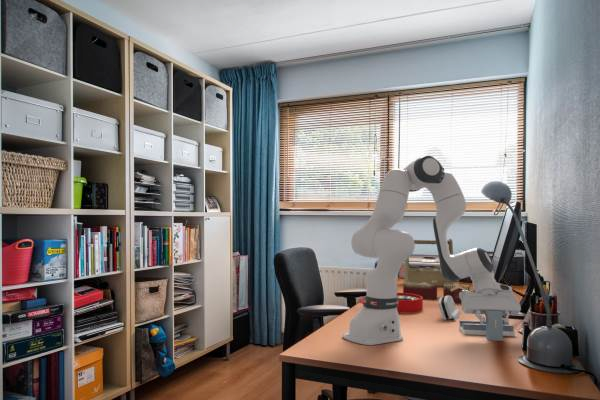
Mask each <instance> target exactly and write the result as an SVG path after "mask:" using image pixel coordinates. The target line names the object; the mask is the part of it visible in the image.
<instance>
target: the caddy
mask: <svg viewBox="0 0 600 400" xmlns="http://www.w3.org/2000/svg"><path fill="white" fill-rule="evenodd" d="M447 242H448V247H449V252H450V254H451V255H454V248H453V246H454V245H453V239H452V238H449V239H447ZM414 243H415V245H437V244H436V239H433V240H427V239H414ZM403 278H404V279H403V280H404V281H405V284H413V282H414V284H416V285H418V284H420V282H421V283H423V282H426V283H428V284H429V285H431V284H432V282H433V281H434V282H433V283H435V282H436V283H437V287H443V284H444V286H449V284H450V286H451V284H452V286H455V282H451V281H449V280H446V279H445V278H444V277H443V275H442V273H441V270H440V268H424V267H423V268H418V267H417V268H416V267H415V268H414V267H413V268H412V267H410V257H409V258H408V259H407V260H406V261H405V262H404V277H403ZM404 281H403V282H404ZM406 282H407V283H406ZM411 282H412V283H411ZM418 282H419V283H418Z"/></svg>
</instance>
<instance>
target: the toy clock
mask: <svg viewBox="0 0 600 400" xmlns="http://www.w3.org/2000/svg"><path fill="white" fill-rule="evenodd" d="M397 297H398V307H397V311H398V314H399V313H402V314H408V313H409V314H411V313H419V312H422V311H423V310H424V309H423V308H424V307H423V305H424V304H423V303H424V301H423V297H422V296H419V295H416V294H409V293H403V292H397Z"/></svg>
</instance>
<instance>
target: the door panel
mask: <svg viewBox="0 0 600 400" xmlns="http://www.w3.org/2000/svg"><path fill="white" fill-rule="evenodd" d="M503 318H504V315H503V312H501V311H486V314H485V320H486V335H485V339H486V340H487V341H494V342H495V341H499V342H500V341H501V342H502V341H504V336H503Z"/></svg>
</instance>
